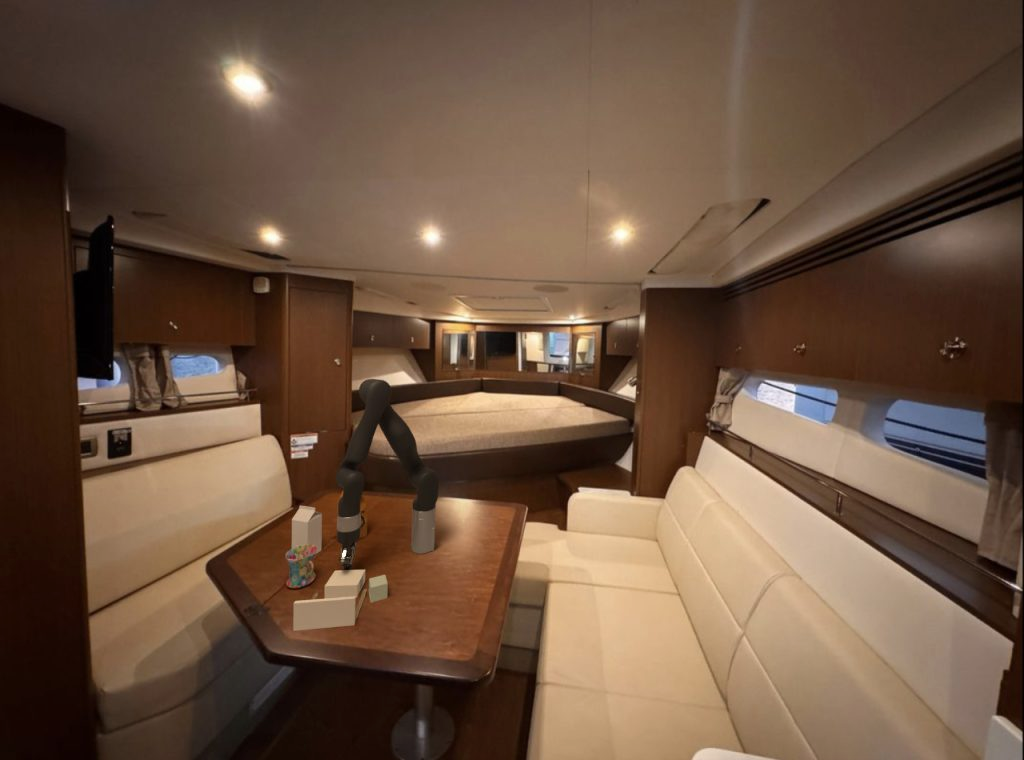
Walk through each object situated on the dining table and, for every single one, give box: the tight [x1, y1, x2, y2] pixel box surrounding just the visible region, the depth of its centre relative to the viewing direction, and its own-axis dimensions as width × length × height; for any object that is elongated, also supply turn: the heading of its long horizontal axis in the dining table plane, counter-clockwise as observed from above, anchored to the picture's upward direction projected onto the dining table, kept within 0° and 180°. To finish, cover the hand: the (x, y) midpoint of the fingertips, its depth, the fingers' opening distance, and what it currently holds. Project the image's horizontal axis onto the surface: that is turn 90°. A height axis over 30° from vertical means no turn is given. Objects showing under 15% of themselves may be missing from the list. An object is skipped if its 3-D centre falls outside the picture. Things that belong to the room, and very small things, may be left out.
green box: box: [368, 574, 389, 604], centre depth 108 cm, size 5×5×5 cm
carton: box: [323, 569, 366, 599], centre depth 111 cm, size 10×8×4 cm
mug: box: [284, 545, 317, 589], centre depth 112 cm, size 12×9×11 cm
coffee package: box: [336, 490, 369, 541], centre depth 144 cm, size 10×12×22 cm
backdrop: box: [292, 596, 357, 632], centre depth 95 cm, size 16×1×8 cm, turn 100°
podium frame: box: [310, 588, 368, 622], centre depth 102 cm, size 16×13×1 cm
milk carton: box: [291, 505, 323, 556], centre depth 129 cm, size 7×7×19 cm
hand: (348, 573), depth 117 cm, fingers closed
